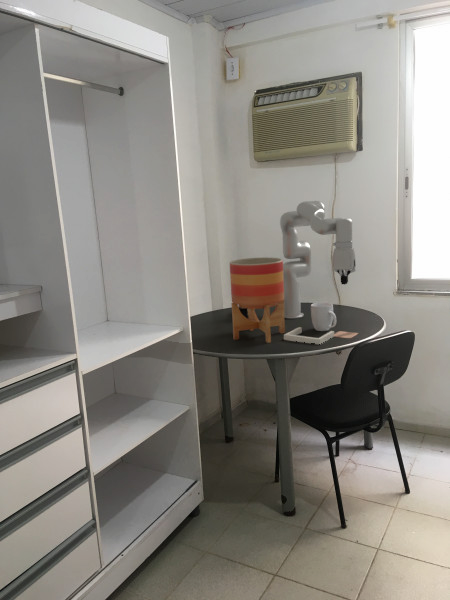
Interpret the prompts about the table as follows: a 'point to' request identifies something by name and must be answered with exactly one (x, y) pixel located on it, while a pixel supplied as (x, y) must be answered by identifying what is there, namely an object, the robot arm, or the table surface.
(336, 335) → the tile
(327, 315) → the mug
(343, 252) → the robot arm
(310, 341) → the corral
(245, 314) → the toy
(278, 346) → the table surface
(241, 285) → the planter
